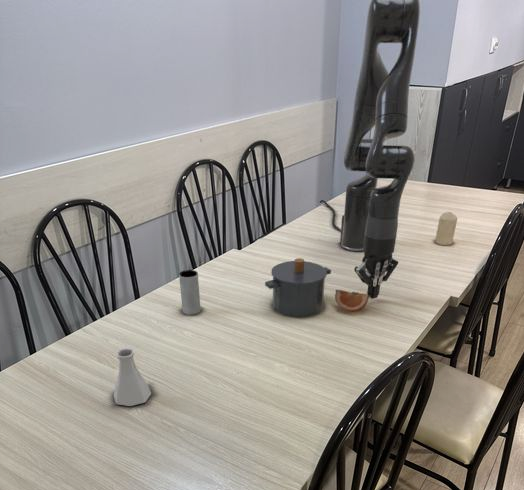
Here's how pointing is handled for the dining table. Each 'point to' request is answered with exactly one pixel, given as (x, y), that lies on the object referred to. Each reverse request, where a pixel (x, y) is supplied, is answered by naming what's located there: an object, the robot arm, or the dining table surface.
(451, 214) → the candle
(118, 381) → the flask
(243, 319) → the dining table surface
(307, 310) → the pot
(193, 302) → the gray cylinder
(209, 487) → the dining table surface
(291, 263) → the pot lid
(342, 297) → the fruit slice
